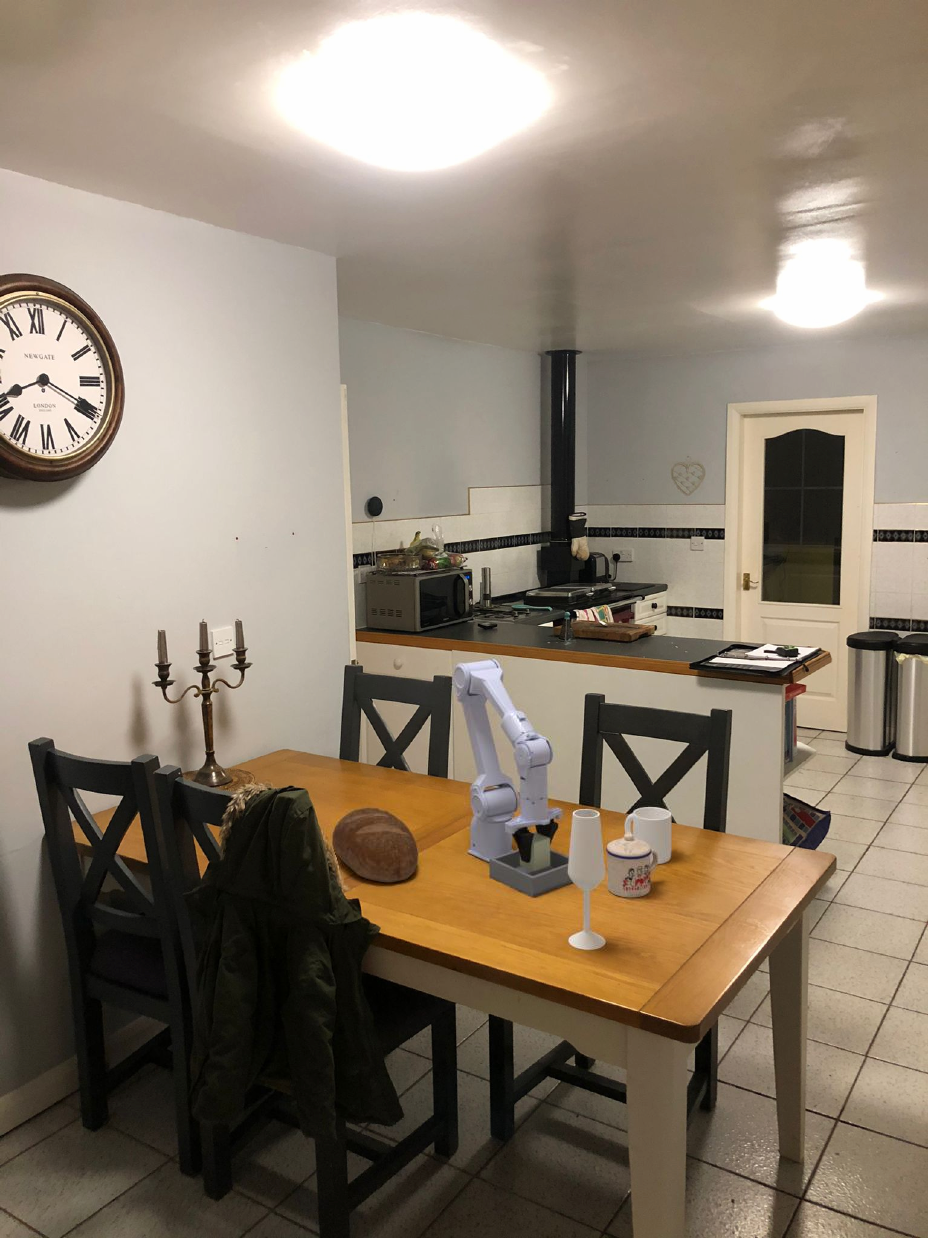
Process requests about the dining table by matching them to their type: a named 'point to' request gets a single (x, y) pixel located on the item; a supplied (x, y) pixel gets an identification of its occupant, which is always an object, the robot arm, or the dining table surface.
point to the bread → (376, 845)
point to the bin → (530, 873)
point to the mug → (652, 830)
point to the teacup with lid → (629, 866)
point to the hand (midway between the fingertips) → (534, 858)
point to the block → (538, 853)
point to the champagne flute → (586, 869)
